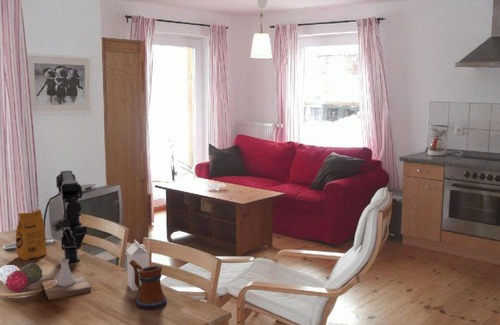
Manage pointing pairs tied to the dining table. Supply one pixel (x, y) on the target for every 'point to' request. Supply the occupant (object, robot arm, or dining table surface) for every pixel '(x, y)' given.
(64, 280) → the flask
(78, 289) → the walnut board
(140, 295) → the mug
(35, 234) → the coffee package
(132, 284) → the milk carton
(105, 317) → the dining table surface
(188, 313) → the dining table surface
